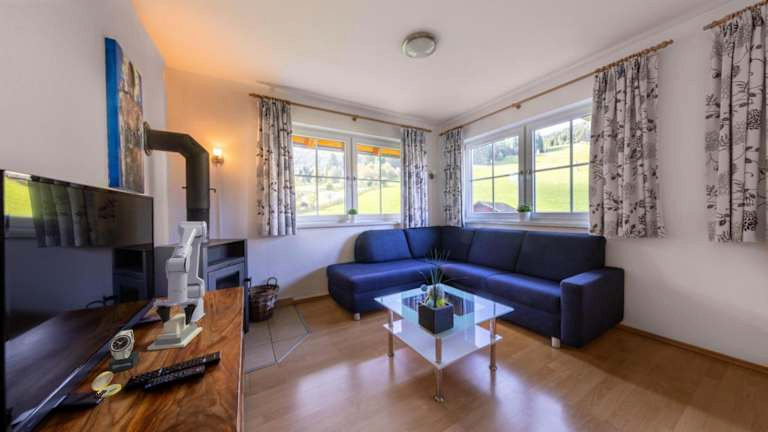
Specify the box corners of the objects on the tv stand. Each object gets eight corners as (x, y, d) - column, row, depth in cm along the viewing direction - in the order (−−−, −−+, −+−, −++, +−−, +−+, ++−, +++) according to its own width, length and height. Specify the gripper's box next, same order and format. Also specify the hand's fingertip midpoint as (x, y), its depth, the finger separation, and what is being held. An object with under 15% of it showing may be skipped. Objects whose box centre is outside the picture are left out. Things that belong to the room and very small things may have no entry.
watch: (105, 377, 75) (105, 339, 74) (117, 362, 82) (117, 328, 82) (131, 371, 77) (131, 335, 77) (140, 358, 84) (141, 325, 84)
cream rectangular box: (177, 326, 101) (177, 313, 101) (189, 325, 102) (189, 313, 102) (163, 337, 92) (163, 323, 92) (176, 336, 93) (176, 322, 93)
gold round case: (106, 398, 66) (106, 379, 66) (89, 396, 67) (90, 377, 67) (125, 387, 71) (125, 369, 71) (109, 385, 71) (110, 367, 71)
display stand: (171, 331, 103) (171, 320, 103) (202, 329, 105) (202, 318, 105) (147, 350, 89) (147, 337, 89) (184, 346, 92) (184, 334, 92)
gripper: (148, 293, 92) (147, 331, 92) (194, 291, 95) (193, 327, 95) (160, 287, 99) (159, 322, 99) (203, 286, 102) (202, 320, 102)
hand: (177, 324), depth 97 cm, fingers open, 6 cm apart
